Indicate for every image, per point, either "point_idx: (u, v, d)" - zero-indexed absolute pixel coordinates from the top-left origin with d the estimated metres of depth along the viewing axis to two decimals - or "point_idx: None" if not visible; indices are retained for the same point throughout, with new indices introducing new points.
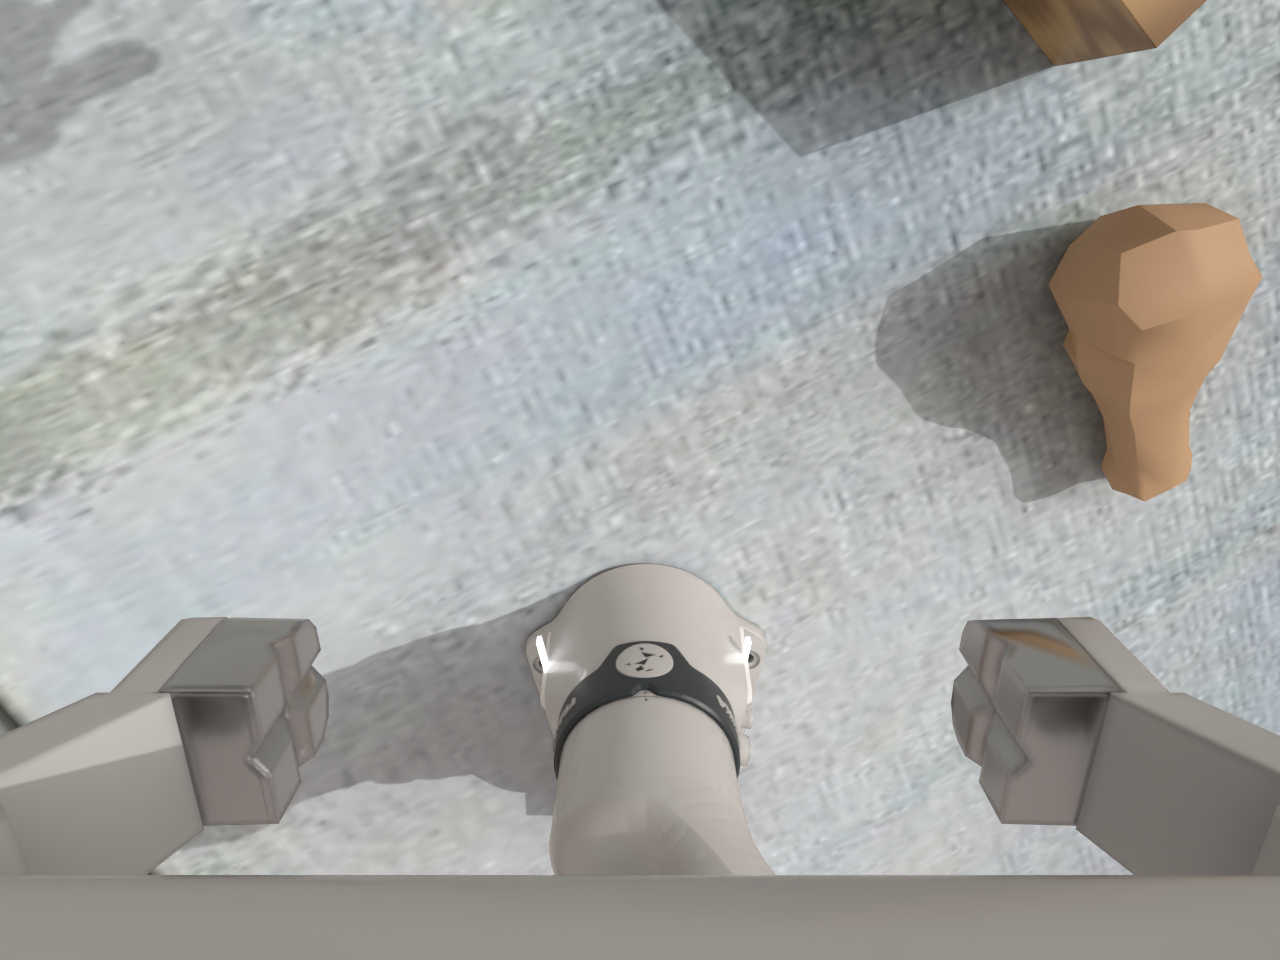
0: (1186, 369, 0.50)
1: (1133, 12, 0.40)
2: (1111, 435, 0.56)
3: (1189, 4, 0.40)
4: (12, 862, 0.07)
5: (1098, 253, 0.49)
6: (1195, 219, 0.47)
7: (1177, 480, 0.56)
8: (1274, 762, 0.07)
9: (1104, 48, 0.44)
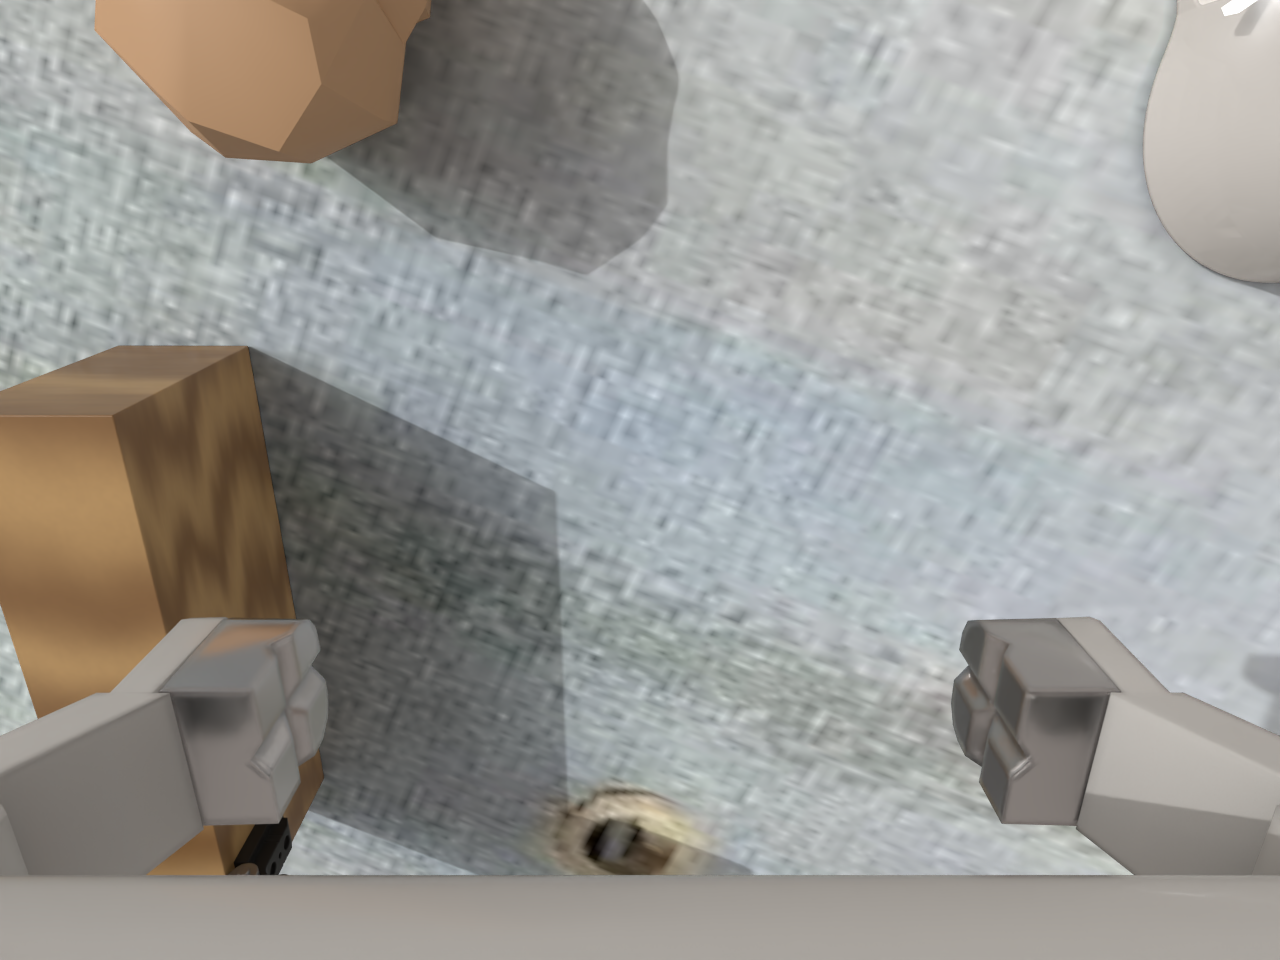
0: None
1: (122, 471, 0.30)
2: None
3: (54, 427, 0.29)
4: (12, 862, 0.07)
5: (309, 153, 0.30)
6: (156, 94, 0.29)
7: None
8: (1274, 762, 0.07)
9: (179, 396, 0.33)
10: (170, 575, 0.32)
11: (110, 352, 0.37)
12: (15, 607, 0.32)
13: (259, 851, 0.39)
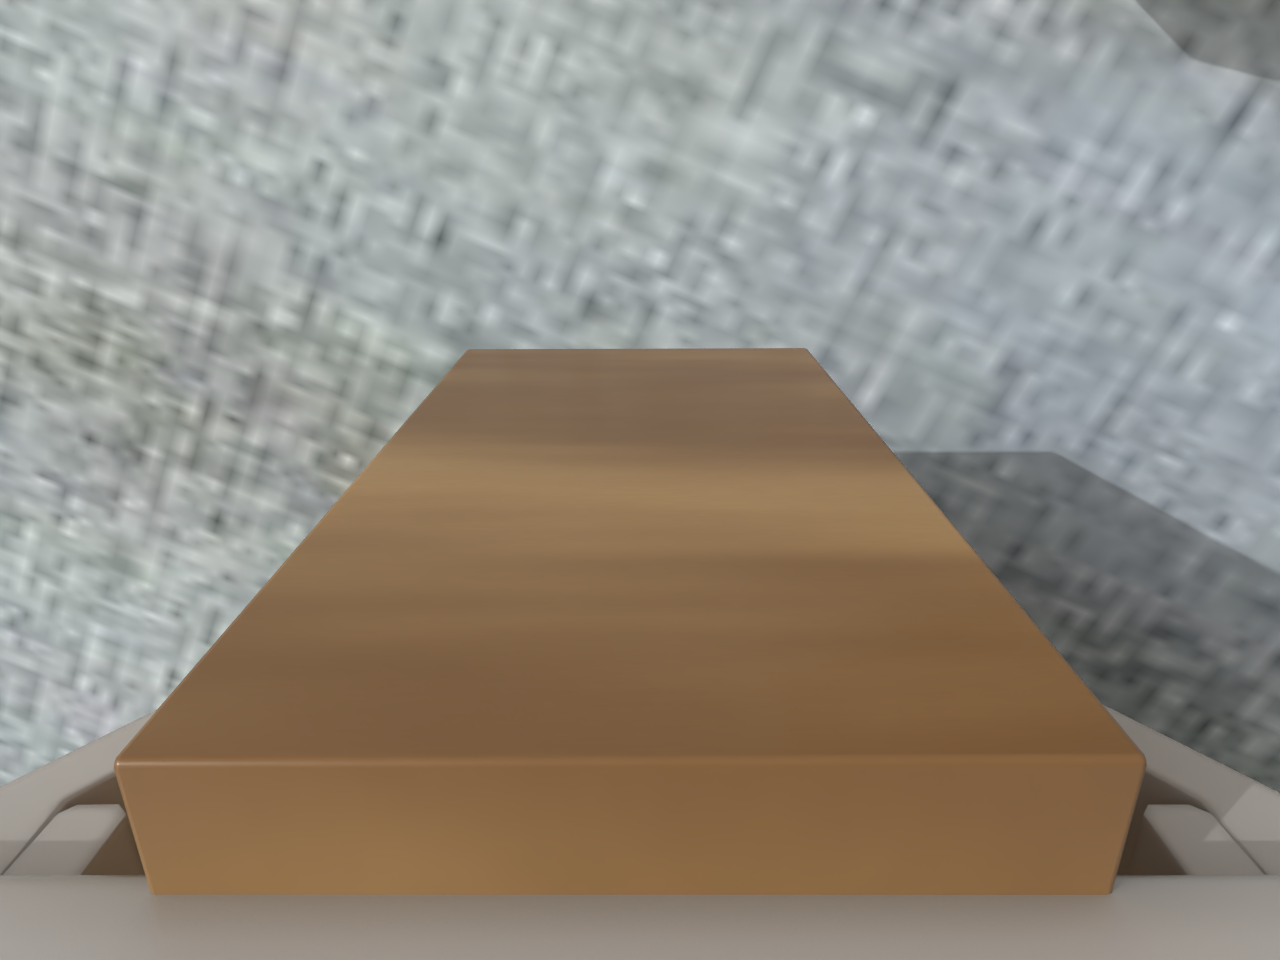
0: None
1: None
2: None
3: (780, 823, 0.05)
4: (130, 862, 0.07)
5: None
6: None
7: None
8: (1154, 762, 0.07)
9: None
10: None
11: (479, 368, 0.13)
12: None
13: None
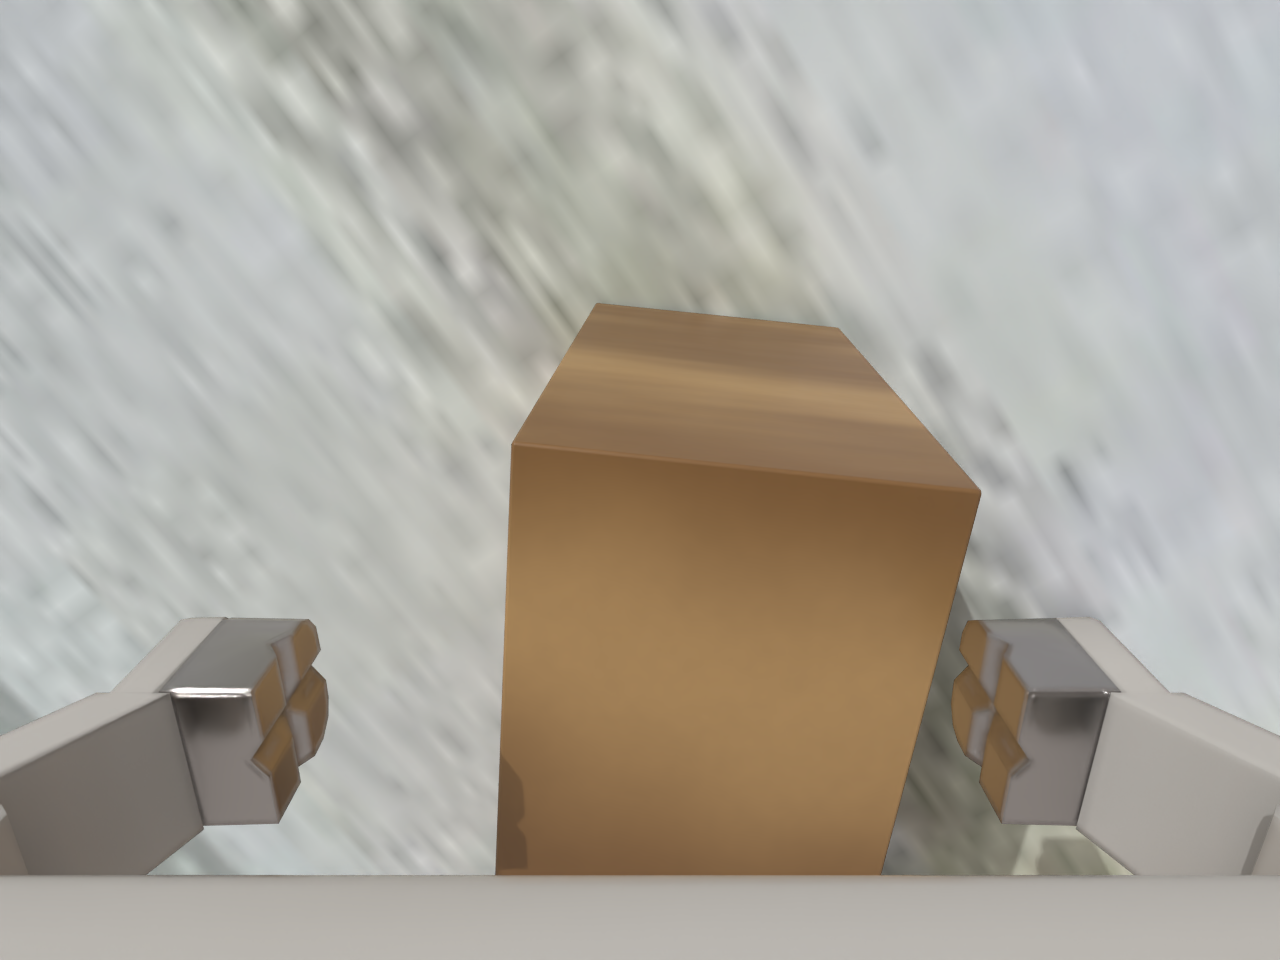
0: None
1: (936, 631, 0.11)
2: None
3: (810, 507, 0.11)
4: (12, 862, 0.07)
5: None
6: None
7: None
8: (1273, 762, 0.07)
9: None
10: None
11: (610, 314, 0.19)
12: None
13: None
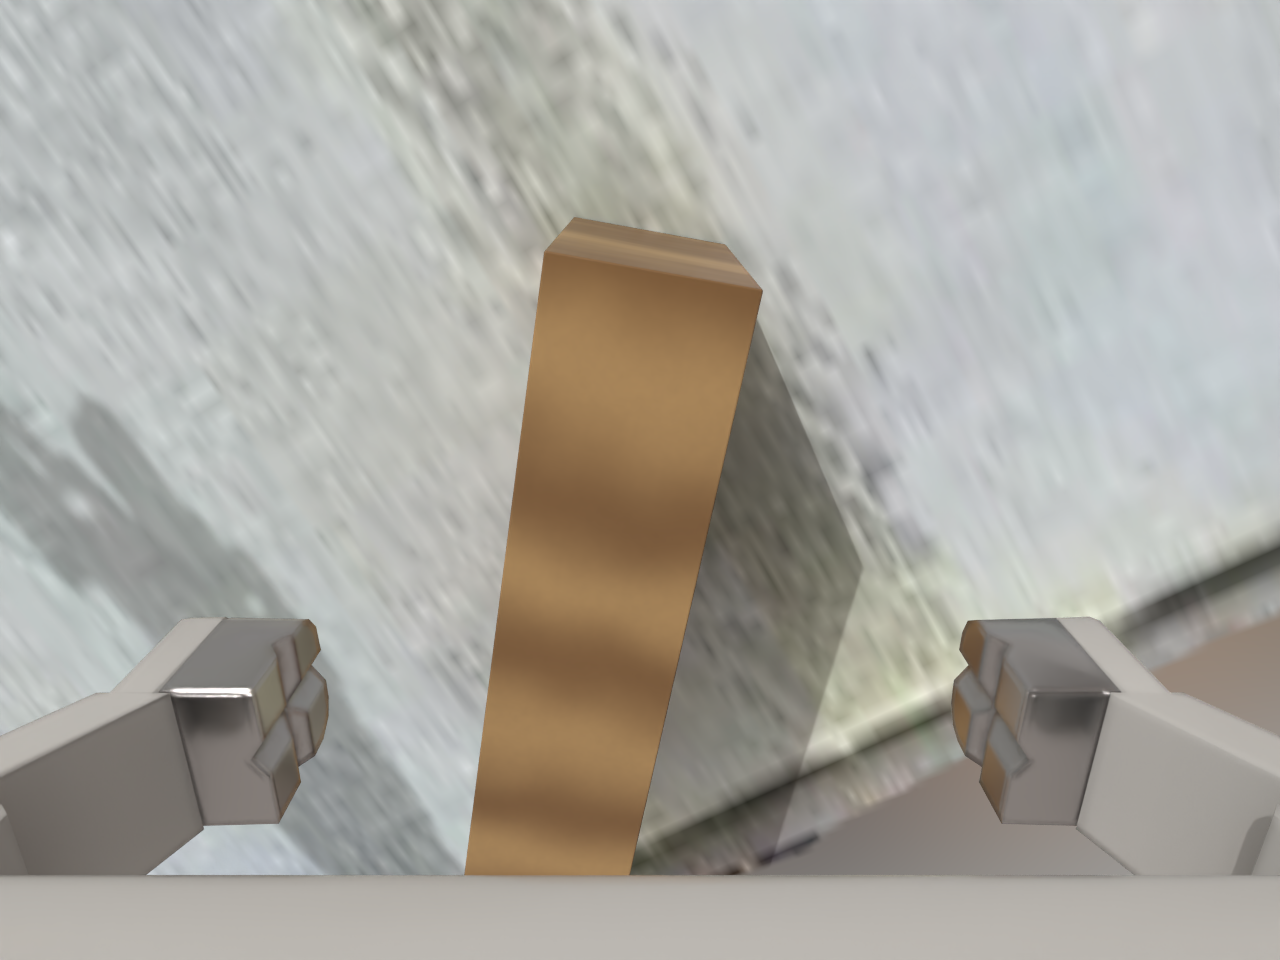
0: None
1: (741, 362, 0.24)
2: None
3: (683, 292, 0.23)
4: (12, 862, 0.07)
5: None
6: None
7: None
8: (1274, 762, 0.07)
9: None
10: None
11: (584, 222, 0.31)
12: (529, 508, 0.25)
13: None
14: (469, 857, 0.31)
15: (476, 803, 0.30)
